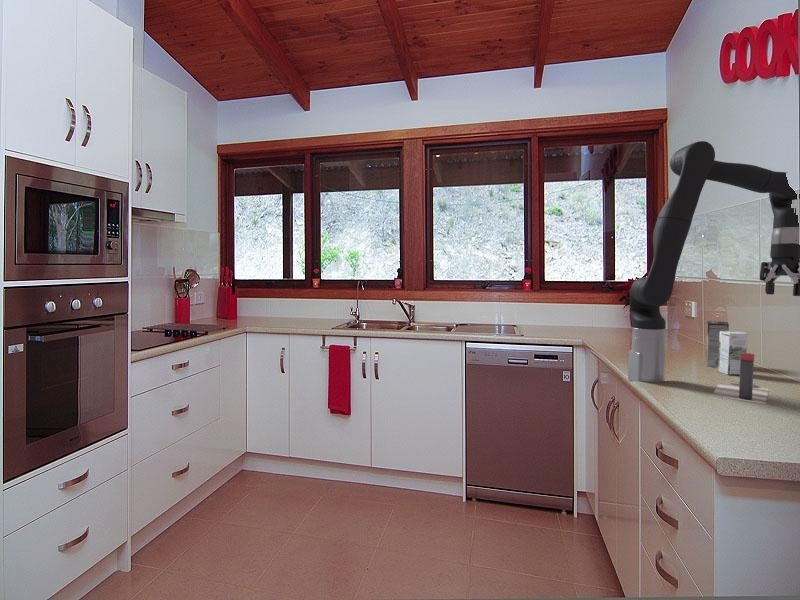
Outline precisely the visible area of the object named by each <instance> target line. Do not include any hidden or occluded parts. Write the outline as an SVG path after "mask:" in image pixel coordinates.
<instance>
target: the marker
mask: <svg viewBox="0 0 800 600" xmlns="http://www.w3.org/2000/svg"><path fill="white" fill-rule="evenodd" d="M754 362H755V353H751V352H750V353H748V352H747V353H740V375H739V382H740V383H739V398H740V399H745V400H752V390H753V384H754V365H755V363H754Z"/></svg>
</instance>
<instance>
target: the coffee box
mask: <svg viewBox="0 0 800 600" xmlns="http://www.w3.org/2000/svg"><path fill="white" fill-rule="evenodd" d="M706 325H707V326H706V348H705V349H706V352H705V353H706V355H705V356H706V359H705V362H706V367H713V368H718V357H719V336H720V331H730V329H729V328H730V323H729V322H728V321H714V320H713V321H712V320H707V323H706Z"/></svg>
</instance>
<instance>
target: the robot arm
mask: <svg viewBox="0 0 800 600" xmlns="http://www.w3.org/2000/svg"><path fill="white" fill-rule="evenodd" d="M715 158H716V152H715V148H714V146H713V145H712V144H711V143H710V142H708V141H705V140H701V141H696V142H692V143H690V144H687V145H686V146H684V147H682V148H680V149H678V150H676V151H675V152H674V153H673V154H672V155H671V157H670V160H669V167H670V170H671V172H672V173H674V174H675V175H676V176H679V178H678V181H677V184H676V186H675V188H674V190H673V191H672V193H671V194H670V196H669V197H668V198H667V201H665V203H664V205H663V206H662V207H661V210H660V212H659V214H658V215H657V219H656V222H655V226H654V229H653V232H652V248H653V257H652V258H653V259H652V263H651V266H650V270H649V272H648V274H647V276H643V277H639V278H637V279H635V280H634V281H633V283H631V287H630V289H629V290H630V291H629V316H630V319H631V323H632V324H631V326H632V327H631V328H632V329H631V349H630V350H628V362H627V363H628V365H627V366H628V367H627V369H628V370H627V371H628V372H627V380H629V381H631V382H645V383H662V382H664V381H665V358H666V357H665V355H666V354H665V352H666V328H667V327H666V324H667V323H666V319H665V318H664V317H663V315H662V314H661V309H660V307H662V306H664V305H666V304H667V302H669V300H670V298H671V296H672V294H673V293H672V292H673V290H674V284H675V280H676V274H677V270H678V265H679V262H680V259H681V256H682V252H683V249H684V245H685V244H686V239H687V237H688V235H689V232H690V229H691V227H692V223H693V222H692V221H693V220H694V219H693V218H694V214H695V212H696V209H697V206H698V203H699V199H700V197H701V193H702V190H703V187H704V186H705V183H706V181H711V182H712V181H713V182H717V183H721V184H725V185H731V186H735V187H737V188H741V189H744V190H746V191H747V190H748V191H751V192H754V193H758V194H759V193H760V194H768V198H769V203H770V206H771V207H770V208H771V211H772V214H773V222H772V224H773V225H772V232H771V239H770V251H769V253H770V254H769V257H770V259H771V261H762V262H761V263H760V264H761V265H760V270H759V271H760V272H759V280H760V281H761V282H762V281H763V282H764V283H765V294H766V295H775V284H776V283H775V281H776V280H777V279H778V278H781V276H782V277H783V276H788V277H789V278H791V280H792V281H793V282H794V283H793V286H792V288H793V290H792V296H794V297H800V245H799V223H798V215H796V208H797V207H795V213H794V208H791V204H792V200H793V201H796V200H800V194H799V199H797V194H796V193H795V191H794V190H793V189H792V188H791V187H790V186H789V184H788V180H787V177H786V173H787V172H784V171H774V170H771V169H768V168H764V167H761V166H758V165H754V164H749V163H748V164H747V163H738V162H727V161H720V160H715Z"/></svg>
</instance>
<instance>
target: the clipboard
mask: <svg viewBox="0 0 800 600" xmlns="http://www.w3.org/2000/svg"><path fill="white" fill-rule="evenodd" d="M739 383H740V381H731V382H730V383H725V382H719V383H718V385H717V386H716V387H715V389H714V390H713V392H712V393H711V397H717V398H725V399H732V400H738V401H745V402H753V403H757V404H758V403H759V404H767V399H768V394H769V391H770V389H769V388H767V387H758V384H756V383H753V390H752V400H745V399H740V398H739Z"/></svg>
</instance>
